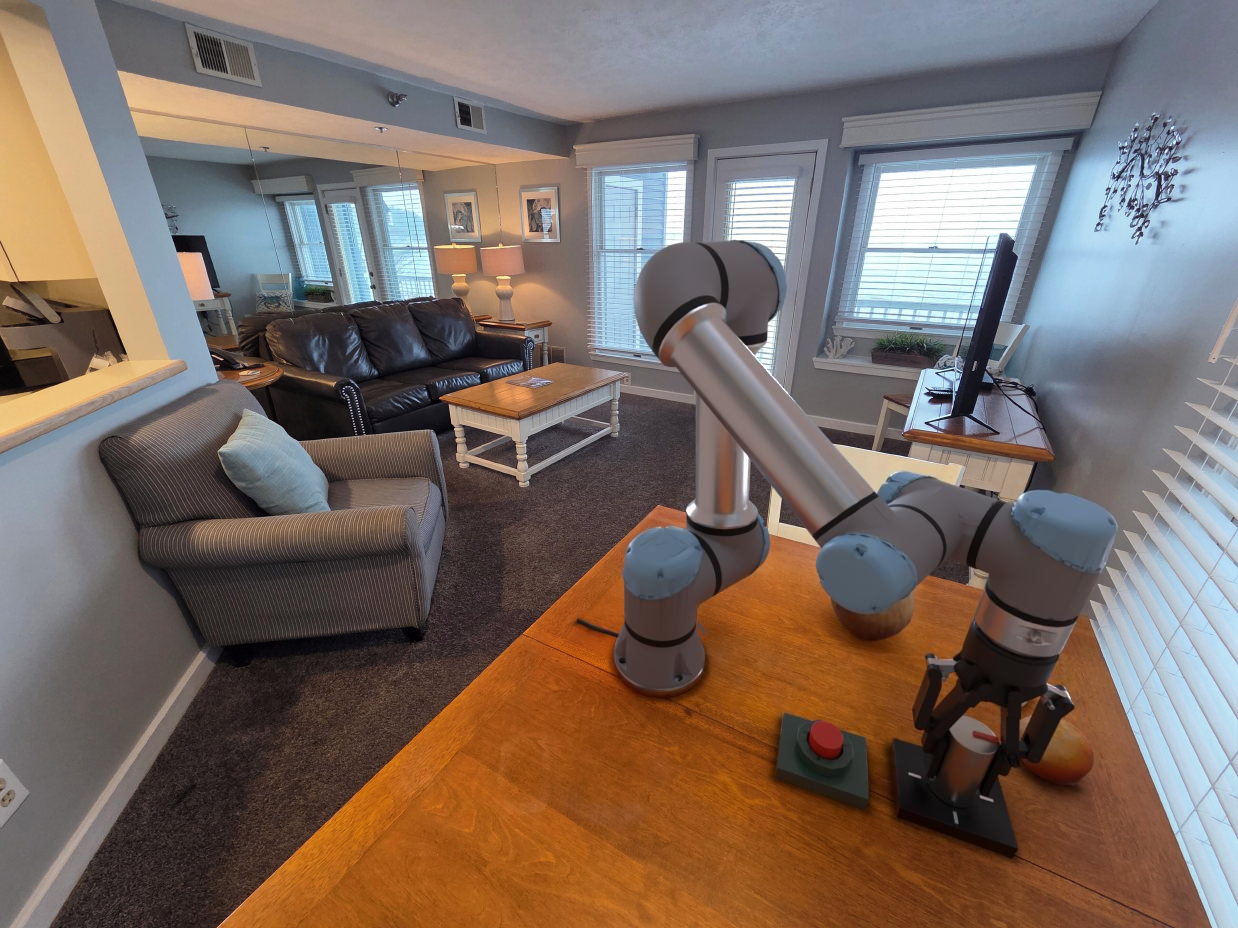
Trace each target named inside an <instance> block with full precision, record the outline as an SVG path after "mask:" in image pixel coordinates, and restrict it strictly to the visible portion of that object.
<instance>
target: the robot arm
mask: <svg viewBox="0 0 1238 928" xmlns="http://www.w3.org/2000/svg"><path fill="white" fill-rule="evenodd" d="M787 282H788V281H787V276H786V272H785V269H784V266H783V263H782V262H781V260H780V259H779V257H778V256H776V254H775V253H774V252H773V250H772V249H771V248H770V247H768V246H766V245H765V244H763V243H759V242H756V241H748V240H743V239H742V240H737V239H731V240H721V241H699V242H693V241H683V242H682V241H681V242H677V243H672V244H669V245H667V246H665V247H663V248H661V249H659V250H658V251H657V252H655V253H654V254H653V255H652V256H651V257H650V258H649V259H648V260H647V261H646V263H645V264H644V265H643V267H642V269H641V270H640V272H639V274H638V277H637V279H636V282H635V285H634V292H633V309H634V310H633V311H634V316H635V320H636V323H637V326H638V329H639V331H640V333H641V335H642V337H643V340H644V341H645V343H646V345H647V346H648V347H649V349H650V350H651V351H652V353H653V354H654V355H655V356H656V358H657V359H658V360H659V362H660V363H661V364H662V366H665V367H667V368H676V369H677V370H678V372H679V373H680V374H681V375H682V377H683V378H684V379H685V380H686V381H687V383H688V384H689V385H690V386H691V388H692V389H693V391H695V498H694V499H693V500H692V501H690V503H688V504H687V506H686V512H685V513H686V523H685V524H686V526H685V528H682V527H679V526H673V525H667V526H666V527H665V528H663V527H661V526H655V527H652V528H648V529H646V530H644V531H642V532H640V533H639V534H638V535H636V536H635V537H634V538H633V539H632V540H631V541H630V542H629V544H628V545H627V547H626V550H625V553H624V563H623V567H622V580H623V615H624V617H623V620H624V621H623V623H622V626H621V628H620V631H619V632H616V631H612V630H610V629H607V628H602V627H600V626H596V625H595V624H592V623H590V622H587V621H585V620H583V619H581V618H577V619H576V621H575V622H576V623H577V624H579V625H581V626H583V627H585V628H588V629H590V630H592V631H594V632H597V633H601V634H604V635H607V636H611V637H613V638H616V641H615V643H614V646H613V666H614V669H615V672H616V673H617V676H618V677H619V678H620V680H621V681H622V682H623V683H624V685H626V686H627V687H629V688H630V689H631V690H633V691H634V692H637V693H639V694H641V695H645V696H649V697H653V698H670V697H676V696H679V695H681V694H684V693H686V692H688V691H689V690H691V689H693V688H694V687H695V686H696V685H697V684H698V683H699V682H700V680H701V678H702V676H703V674H704V671H705V663H706V652H705V647H704V646H703V645H704V644H703V642H702V639H701V636H700V634H699V631H698V628H699V630H700V631H701V633H702V635H703V636H704V637H706V629H705V628H704V627H703V625H702V623H701V622H700V620H699V619H698V618H697V617H698V608H699V606H700V605H702V604H703V603H705V602H707V601H709V600H710V599H711V598H713V597H715V596H717V595H718V594H721V592H724V591H725V590H727V589H728V588H730V587H731V586H734V585H735V584H737V583H738V582H739V583H740V581H742V580H745V579H747V578H748V577H750V576H751V575H753V574H754V573H755V572H756V571H757V570H758V569H759V568H760V567H761V566H763V564H764V563H765V562H766V560H767V559H768V556H769V553H770V548H771V537H770V531H769V529H768V527H765V526H764V523H765V520H764V519H763V518H762V516H761V515H760V514H759V511H758V508H757V506H756V505H755V504H754V503H752V501H751V500H750V484H751V483H750V482H751V481H750V480H751V478H750V477H751V463H753V465H754V466H755V467H756V469H757V470H758V471H759V472H760V474H761V475H762V476H763V477H764V479H765V480H766V481H767V482H768V484H769V485H770V486H771V487H772V488H773V490H774V491H775V492H776V493H777V495H778V496H779V497H780V498H781V500H782V501H783V502H784V504H785V505H786V506H787V508H788V509H789V510H790V511H791V512H792V514H794V516H795V517H796V518H797V520H798V521H799V522H800V524H801V525H802V526H803V527H804V529H805V530H806V531H807V532H808V533H809V534H810V536H811V537H812V539H813V540H814V541H815V543H816V544H817V545H818V546H819V548H820V550H819V552H818V554H817V555H816V561H815V571H816V574H818V578H819V584H820V585H821V588H822V589H823V590H824V592H825V593H826V595H827V596H828V597H829V598H830V597H831V598H832V599H833V600H834V601H835V602H836V603H838V604H839V605H840V606H842V607H844V608H845V609H847V610H850V611H852V612H856V613H860V614H875V613H880V612H884V611H886V610H887V609H888V608H890V607H891V606H892V605H894V604H895V603H896V602H898V601H899V600H902V599H904V598H906V597H908V596H909V595H910V594H911V592H912V591H915V589H916V588H917V587H918V586H919V585H920V584H921V583H922V582H923V581H924V580H925V579H926V578H927V577H928V576H930V574H931V573H932V572H933V571H934V570H936V569H937V568H938V567H940V566H941V565H942V564H943V563H944V562H945V561H946V560H948V559H950V560H953V561H955V562H957V563H960V564H962V565H964V566H967V567H970V568H972V569H975V570H978V571H981V572H983V573H986V574H988V577H987V580H986V582H985V583H984V584H985V585H984V588H983V591H982V594H981V596H980V597H979V601H978V603H977V606H976V608H975V611H974V616H973V618H972V620H971V622H970V624H969V628H968V630H967V633H966V636H965V638H964V640H963V642H962V643H963V644H962V647H961V650H960V651H959V652H958V653H956V654H955V655H954V656H953V657H952V659H947V658H945V659H943V658H938V656H937V655H936V654H935V653H925V656H924V659H925V666H926V670H925V673H924V676H923V678H922V681H921V683H920V685H919V690H918V691H917V694H916V697H915V700H914V702H913V705H912V708H911V712H912V714H911V715H912V720H913V721H912V722H913V727H914V728H915V730H917V731H923V733H922V736H921V738H920V739H921V746H922V748H923V752H925V754H924V757H923V759H924V766H925V772H926V777H928V778H931V779H933V778H934V776H935V773H936V771H937V768H938V766H939V763H940V761H941V758H942V756H943V753H944V751H945V748H946V746H947V741H946V736H945V733H946V732H947V731H948V730H949V729H950V728H951V727H952V726H953V725H954V724H955V723H956V722H957V721H958V720H959V719H960V718H961V717H962V716H965V714H966V713H967V712H968V710H970V708H971V709H975V708H976V707H977V706H978V705H979V704H980V703H981V702H983V703H992V704H994V705H996V706H998V707H999V708H1000V715H999V716H1000V717H999V718H1000V720H999V721H1000V722H999V724H1000V727H999V728H1000V730H999V731H1000V732H999V733H1000V735H999V736H1000V737H999V738H1000V741H999V742H998V749H997V751H996V753H995V755H994V758H993V760H992V762H991V764H990V766H989V768H988V770H987V773H986V775H985V777H984V779H983V781H982V783H981V785H980V788H979V790H980V794H981V795H984V796H987V797H988V796H989V794H990V792H991V790H992V787H993V785H994V783H995V781H996V779H997V777H998V778H999V776H1002V777H1007V776H1008V775H1009V774H1010V772H1011V770H1012V768H1014V769H1017V768H1021V766H1022V764H1021V761H1020V760H1021V759H1027V760H1028V761H1029V762H1030V763H1034V764H1037V763H1039V762H1040V761H1041V759H1042V757H1043V755H1044V753H1045V751H1046V749H1047V747H1048V745H1049V743H1050V741H1051V739H1052V737H1053V735H1054V733H1055V731H1056V728H1057V726H1058V724H1059V722H1060V720H1061V719H1064V718H1065V717H1066V716H1067V715H1069V714H1070V713H1072V712H1073V711H1074V710H1075V709H1076V707H1075V704H1074V702H1073V700H1072V697H1071V696H1070V694H1069V692H1068V690H1067V688H1066V687H1065V686H1064V685H1062V684H1054V685H1051V684H1049V683H1047V682H1048V681H1049V679H1050V677H1051V675H1052V673H1053V671H1054V670H1055V667H1056V665H1057V663H1058V661H1059V659H1060V654H1061V652H1062V651H1063V650H1064V648H1065V646H1066V645H1067V642H1068V640H1069V638H1070V636H1071V633H1072V632H1073V630H1074V627H1075V625H1076V623H1077V621H1078V619H1079V617H1080V615H1081V613H1082V611H1083V609H1084V607H1085V605H1086V603H1087V602H1088V600H1089V597H1090V595H1091V594H1092V592H1093V590H1094V588H1095V587H1096V584H1097V582H1098V580H1099V578H1100V576H1101V574H1102V572H1103V570H1104V568H1105V566H1106V564H1107V562H1108V558H1109V556H1110V553H1111V550H1112V548H1113V545H1114V543H1115V540H1116V538H1117V536H1118V523H1117V521H1116V518H1115V517H1114V516H1113V515H1112V514H1111V513H1110V512H1109V511H1108V510H1106V509H1105V508H1104V507H1102V506H1101V505H1099V504H1098V503H1095V502H1094V501H1090V500H1089V499H1086V498H1083V497H1081V496H1078V495H1075V494H1071V493H1065V492H1062V493H1060V492H1055V491H1052V490H1049V489H1037V490H1036V489H1035V490H1029V491H1026V492H1023V493H1022V494H1020V495H1019V497H1018V498H1017V499H1016V501H1014V503H1013V502H1010V501H1009V502H1005V501H1002V500H1000V499H996V498H993V497H990V496H987V495H985V494H982V493H979V492H975V491H973V490H970V489H967V488H964V487H962V486H958V485H955V484H952V483H949V482H946V481H943V480H940V479H939V478H937V477H934V476H931V475H927V474H926V475H925V474H921V473H916V472H912V471H910V470H909V471H908V470H898V471H895V472H893V473H891V474H890V475H888V476H887V478H886V480H885V482H883V483H882V484H881V485H880V486H879V488H878V491H877V492H876V491H875V490H874V489H873V488H872V486H871V485H870V484H869V482H867V481H866V480H865V479H864V478H863V476H862V475H861V474H860V473H859V471H857V470H856V468H855V467H854V466H853V465H852V463H850V462H849V461H848V458H847V459H846V457H845V456H844V455H843V454H842V453H841V451H840V450H839V449H838V448H837V447H836V446H835V445H834V443H833V442H832V441H831V440H830V439H829V438H828V437H827V435H826V434H825V433H824V432H823V431H822V429H820V428H819V427H818V426H817V424H816V423H815V422H814V421H813V420H812V419H811V418H810V416H809V415H808V414H807V413H806V412H805V411H804V410H803V409H802V408H801V406H800V404H798V403H797V402H796V400H795V399H793V397H792V396H791V395H790V394H789V393H788V391H787V390H786V389H785V388H784V387H783V386H782V385H781V384H780V383H779V381H778V380H777V379H776V378H775V377H774V376H773V374H771V372H770V371H769V370H768V368H766V367H765V365H764V364H763V363H762V362H761V361H760V360H759V359H758V358H757V356H756V355H757V354H758V352H759V351H760V350H761V349H763V348H764V346H765V345H766V344H767V343H768V335H769V323H770V322H772V320H773V319H775V317H776V316H777V314H778V312H780V311H781V310H782V308H783V306H784V304H785V301H786V297H787V291H788V290H787V289H788V283H787ZM831 598H830V599H831ZM952 673H955V675H956V676H957V679H956V681H955V685H954V687H952V689H951V690H950V691H949V692H948V693H947V694H946V695H945V697H943V698H942V700H941V701H939V703H938V704H937V701H938V699H939V696H940V693H941V691H942V688H943V683H945V682H947V679H948V678H949V676H950V675H951V674H952ZM1037 698H1039V699H1038V701H1037V703H1036V704H1035V707H1034V709H1033V712H1032V713H1031V714H1032V716H1031V718H1030V720H1029V722H1028V725H1027V727H1026V729H1025V731H1024V733H1023V736H1022V738H1021V740H1019V735H1020V720H1022V707H1023V706H1022V703H1024V702H1026V703H1028V702H1029V701H1032V700H1034V699H1037ZM936 704H937V706H936ZM935 706H936V707H935ZM1021 706H1022V707H1021Z"/></svg>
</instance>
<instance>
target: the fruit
mask: <svg viewBox="0 0 1238 928" xmlns="http://www.w3.org/2000/svg"><path fill="white" fill-rule="evenodd" d="M1032 714H1033V713H1031V714H1029V715H1028V716H1026V717H1024V718H1021V719H1020V735H1019V740H1021V738H1022V736H1023V733H1024V731H1025V729H1026V727H1027V725H1028V722H1029V720H1030V718H1031V716H1032ZM1094 754H1095V753H1094V751H1093V748H1092V745H1091V743H1090V742H1089V739H1088V738H1087V736H1085V734H1083V733H1082V732H1081V730H1080V729H1079V728H1077V727H1076V726H1075V725H1073V724H1072V723H1071V722H1069V721H1067V720H1065V719H1064V718H1062V719H1061V720H1060V722H1059V724H1058V726H1057V728H1056V731H1055V733H1054V735H1053V737H1052V739H1051V741H1050V743H1049V745H1048V747H1047V749H1046V751H1045V753H1044V755H1043V757H1042V759H1041V761H1040V762H1039V763H1037V764H1034V763H1030V762H1029V761H1028V760H1027V759H1020V760H1021V761H1022V763H1023V764H1024V765H1025V766H1026V767H1027V768H1028V769H1029V770H1030V771H1031V772H1032V773H1033V774H1035V775H1036V776H1037V777H1039V778H1041V779H1042V780H1043V779H1044V780H1046V781H1048V782H1050V783H1053V784H1055V785H1062V786H1067V785H1068V786H1069V785H1070V786H1072V787H1075V785H1076V784H1077V783H1079V781H1081V780H1082V779H1084V777H1085V776H1086V775H1088V773H1090V772H1091V771H1092V769H1093V767H1094V760H1095V759H1094V757H1095V756H1094Z"/></svg>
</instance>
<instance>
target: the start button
mask: <svg viewBox="0 0 1238 928" xmlns="http://www.w3.org/2000/svg"><path fill="white" fill-rule="evenodd" d="M824 721H825V720H822V721H819V722H816V723H814V724H813V725H812V727H811V731H810V735H809V745H810V747H811V749H812V750H813V751H814V752H815V753H816V754H817V755H818V756H820V757H822V758H825V759H834V758H836V757H838V756H839V754H840V752H841V748H842V744H843V736H842V734H841V732H840V731H839V729H840V728H839V727H837V726H836V725H835V724H833V723H832V722H828V721H825V722H824ZM832 724H833V725H832ZM834 725H835V726H836V727H835V726H834ZM838 728H839V729H838Z"/></svg>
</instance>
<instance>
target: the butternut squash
mask: <svg viewBox="0 0 1238 928" xmlns="http://www.w3.org/2000/svg"><path fill="white" fill-rule="evenodd" d="M913 591H914V590H913ZM913 591H912V592H911V594H910V595H909V596H908V597H906V598H904V599H902V600H899V601H898V602H896V603H895V604H894V605H892V606H891V607H890V608H888V609H887V610H886V611H884V612H880V613H875V614H860V613H856V612H852V611H850V610H847V609H845V608H844V607H842V606H840V605H839V604H838V603H836V602H835V601H834V600H833V599H832V598H831V597H830V596H829V599H830V602H831V606H832V609H833V612H834V614H835V616H836V618H837V619H838V621H839V622H840V624H841V625H842V626H843V627H844V628H845V629H846V630H847V631H848V632H849V633H850V634H852V635H853V636H854V637H856V638H858V639H860V640H861V641H867V642H874V641H880V640H886V639H887V638H891V637H893V636H896V635H898V634H900V633H901V632H902V631H903V630H904V629H905V628H906V627H907V626H909V624H910V623H911V622H912V619H913V616H914V612H915V597H914V592H913Z"/></svg>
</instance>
